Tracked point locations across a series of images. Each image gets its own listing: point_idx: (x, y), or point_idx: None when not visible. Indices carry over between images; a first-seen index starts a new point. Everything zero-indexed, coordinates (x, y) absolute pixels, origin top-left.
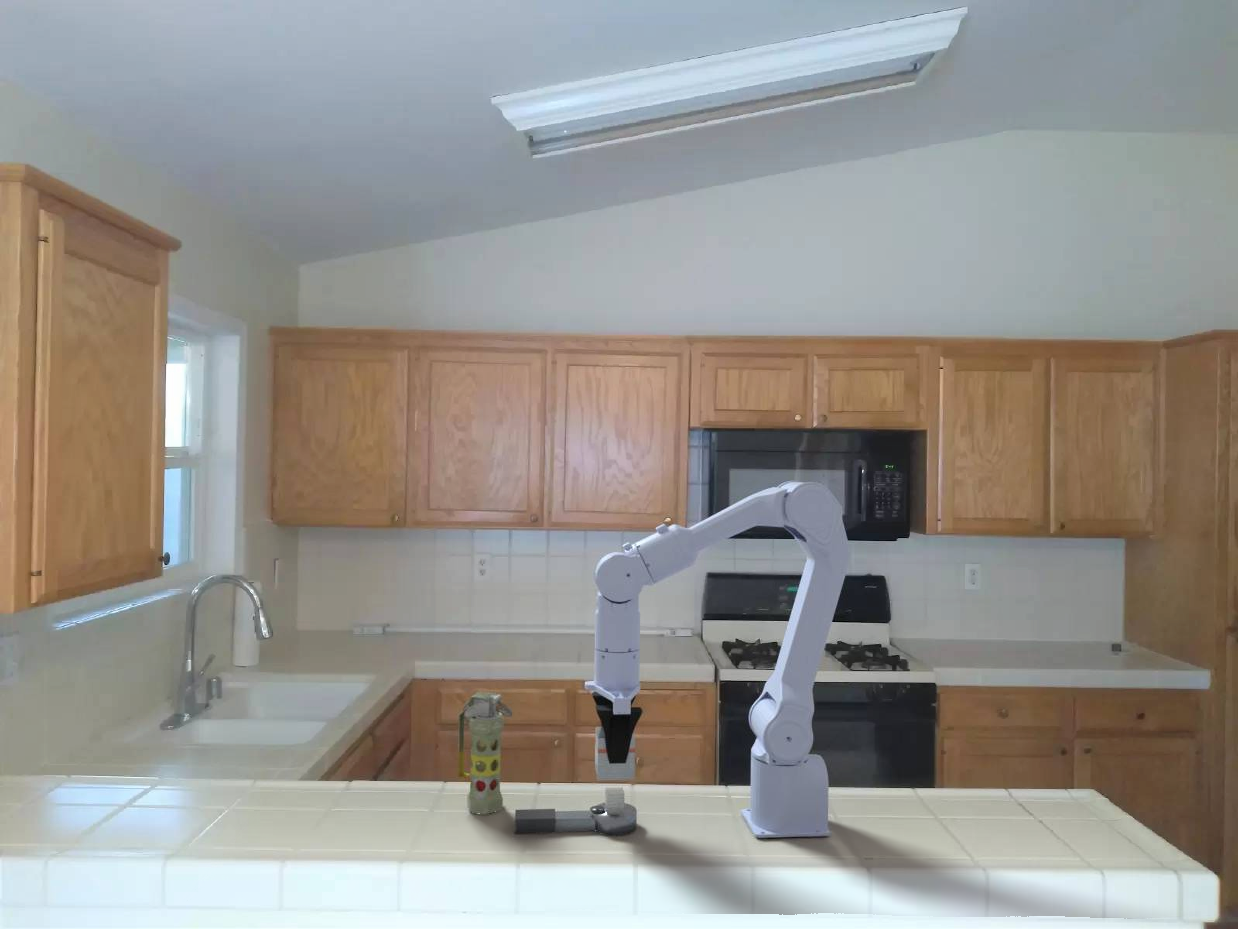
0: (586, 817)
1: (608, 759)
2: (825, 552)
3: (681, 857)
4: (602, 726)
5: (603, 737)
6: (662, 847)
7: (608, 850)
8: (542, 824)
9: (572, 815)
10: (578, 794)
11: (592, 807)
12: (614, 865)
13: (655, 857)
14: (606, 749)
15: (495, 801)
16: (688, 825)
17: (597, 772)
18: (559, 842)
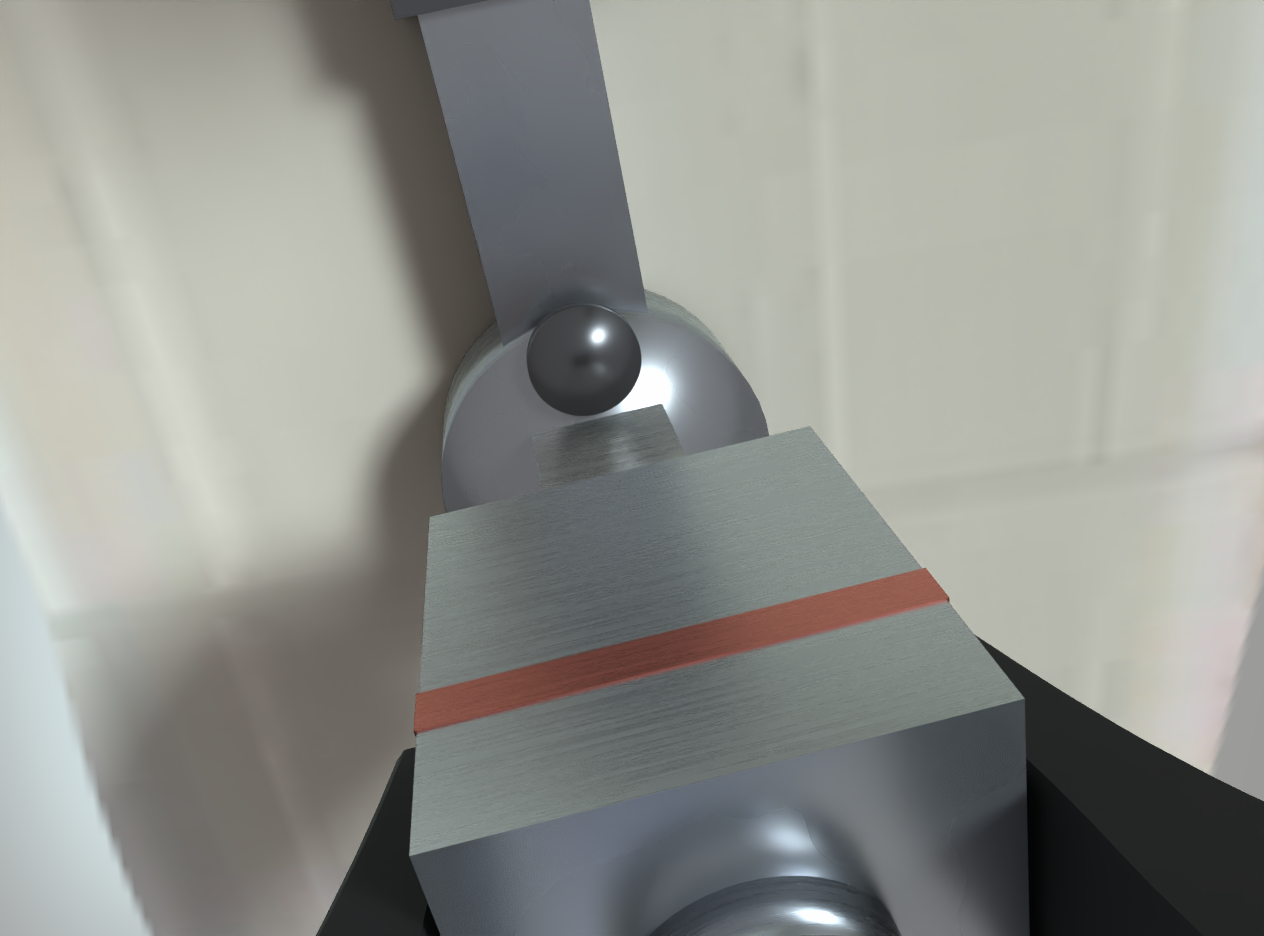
0: (502, 278)
1: (395, 775)
2: None
3: (249, 822)
4: (1046, 788)
5: (468, 915)
6: (351, 724)
7: (217, 448)
8: None
9: (519, 157)
10: (1160, 83)
11: (601, 322)
12: (7, 516)
13: (206, 709)
14: (393, 845)
15: None
16: None
17: (456, 547)
18: (244, 81)
